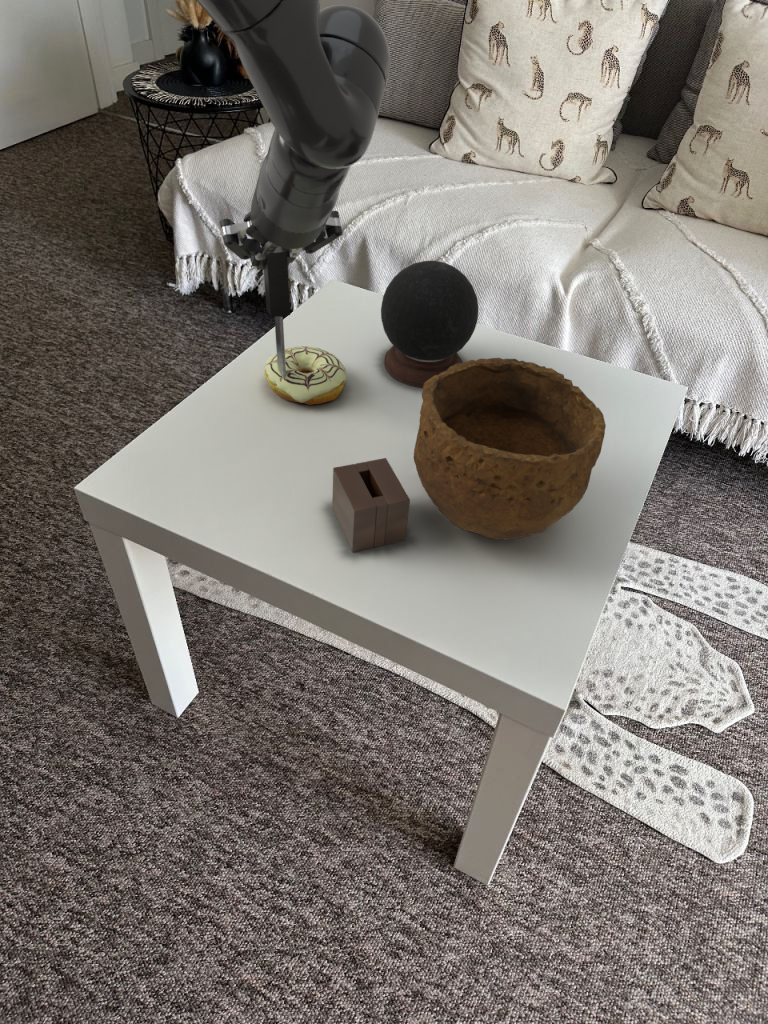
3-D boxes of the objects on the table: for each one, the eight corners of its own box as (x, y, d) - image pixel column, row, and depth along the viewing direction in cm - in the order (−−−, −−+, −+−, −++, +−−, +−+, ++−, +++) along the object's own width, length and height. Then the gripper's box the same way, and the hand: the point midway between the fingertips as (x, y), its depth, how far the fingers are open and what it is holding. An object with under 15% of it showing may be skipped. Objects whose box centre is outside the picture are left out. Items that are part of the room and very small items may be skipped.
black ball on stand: (464, 344, 107) (480, 247, 96) (473, 394, 97) (491, 291, 87) (376, 339, 106) (383, 241, 96) (377, 389, 96) (384, 285, 86)
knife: (275, 379, 89) (267, 254, 80) (270, 369, 91) (261, 246, 82) (294, 377, 90) (288, 252, 81) (288, 367, 92) (281, 245, 83)
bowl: (450, 440, 89) (468, 334, 79) (593, 496, 83) (632, 390, 73) (375, 527, 77) (384, 415, 67) (536, 600, 71) (573, 490, 61)
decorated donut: (304, 419, 90) (304, 395, 88) (249, 384, 95) (248, 360, 93) (360, 388, 96) (362, 364, 94) (306, 357, 101) (306, 333, 99)
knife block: (352, 552, 74) (354, 511, 70) (332, 508, 79) (333, 467, 75) (405, 540, 76) (410, 499, 72) (382, 498, 81) (386, 457, 76)
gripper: (356, 151, 70) (319, 225, 87) (215, 157, 66) (205, 234, 82) (371, 226, 70) (332, 285, 87) (231, 237, 66) (218, 297, 83)
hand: (270, 260), depth 84 cm, fingers closed on knife, 2 cm apart
